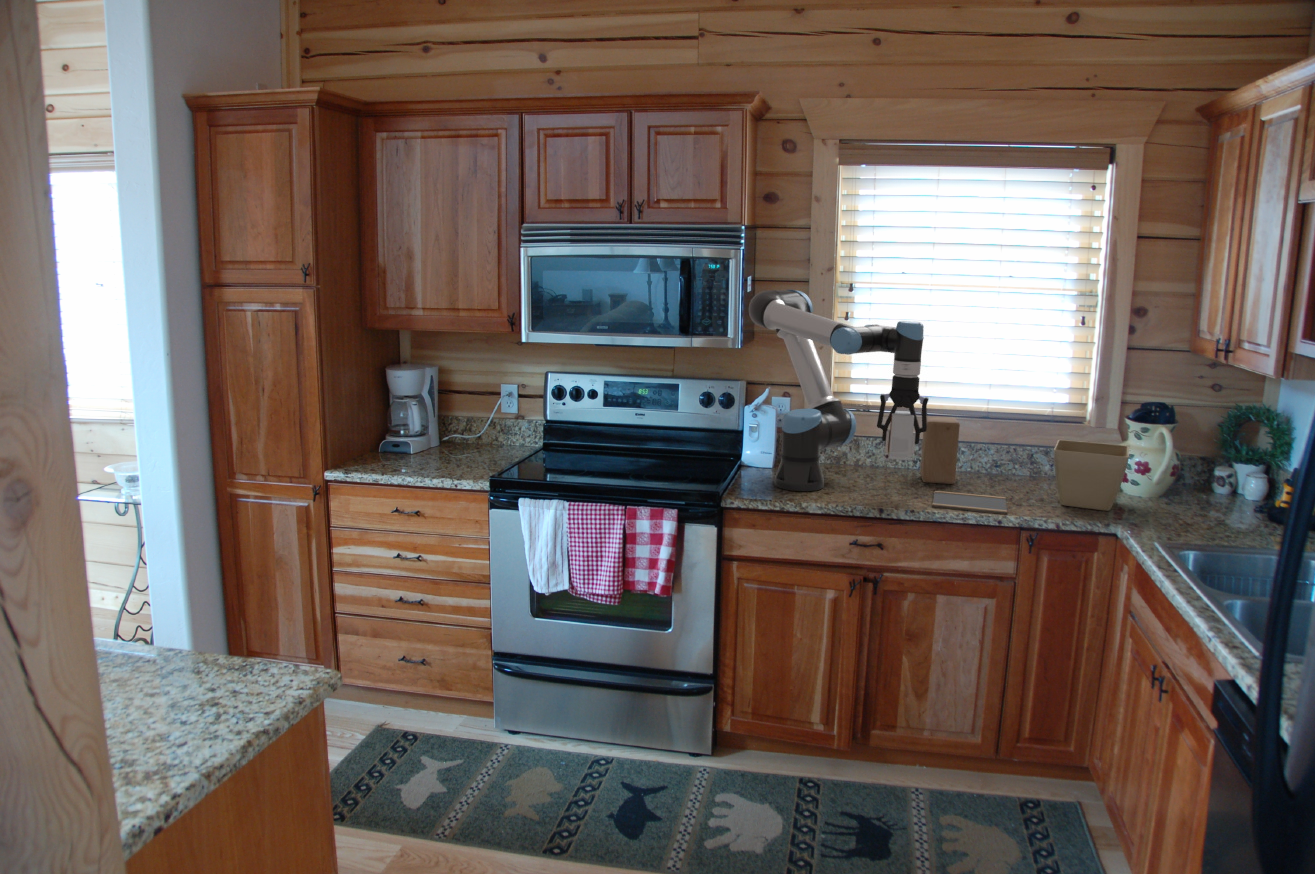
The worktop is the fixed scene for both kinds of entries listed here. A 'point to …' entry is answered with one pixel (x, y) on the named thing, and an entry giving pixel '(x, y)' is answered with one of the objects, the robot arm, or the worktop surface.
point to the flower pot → (1089, 473)
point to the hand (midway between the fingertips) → (899, 453)
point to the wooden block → (940, 450)
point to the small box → (901, 435)
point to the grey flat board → (970, 502)
